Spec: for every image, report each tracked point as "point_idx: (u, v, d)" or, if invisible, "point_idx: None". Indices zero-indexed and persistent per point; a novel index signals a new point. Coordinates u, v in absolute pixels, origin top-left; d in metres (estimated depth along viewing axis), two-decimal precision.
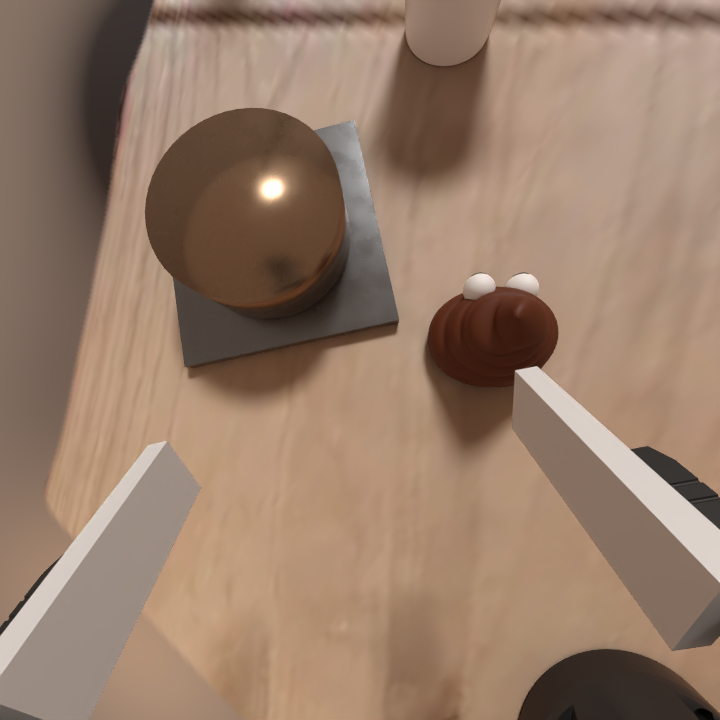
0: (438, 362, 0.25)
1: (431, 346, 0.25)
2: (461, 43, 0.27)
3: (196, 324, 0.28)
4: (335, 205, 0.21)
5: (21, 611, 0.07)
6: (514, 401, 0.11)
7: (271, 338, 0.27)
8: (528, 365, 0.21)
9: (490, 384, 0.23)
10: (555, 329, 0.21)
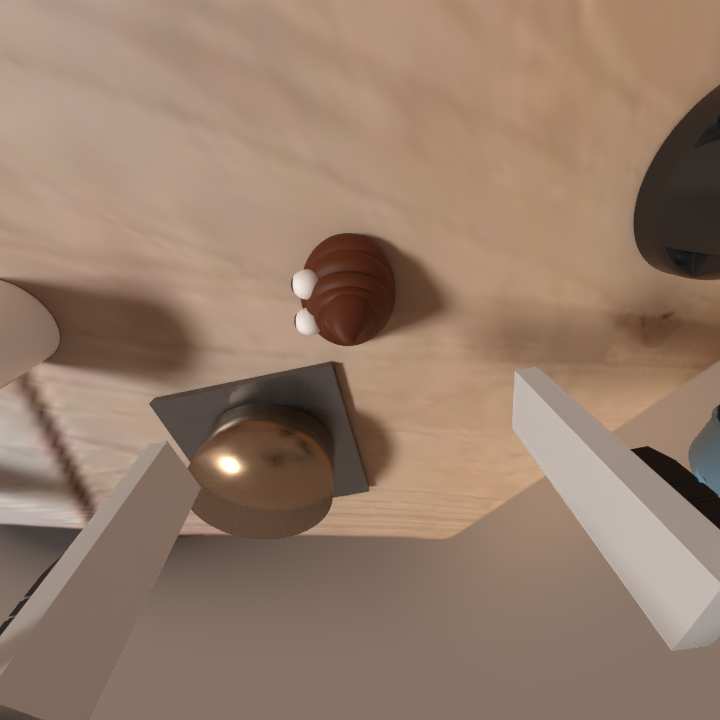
0: (371, 338, 0.28)
1: (357, 344, 0.29)
2: (32, 320, 0.26)
3: (339, 488, 0.40)
4: (255, 445, 0.27)
5: (20, 612, 0.07)
6: (514, 401, 0.11)
7: (349, 448, 0.36)
8: (383, 293, 0.23)
9: (393, 302, 0.26)
10: (348, 262, 0.22)
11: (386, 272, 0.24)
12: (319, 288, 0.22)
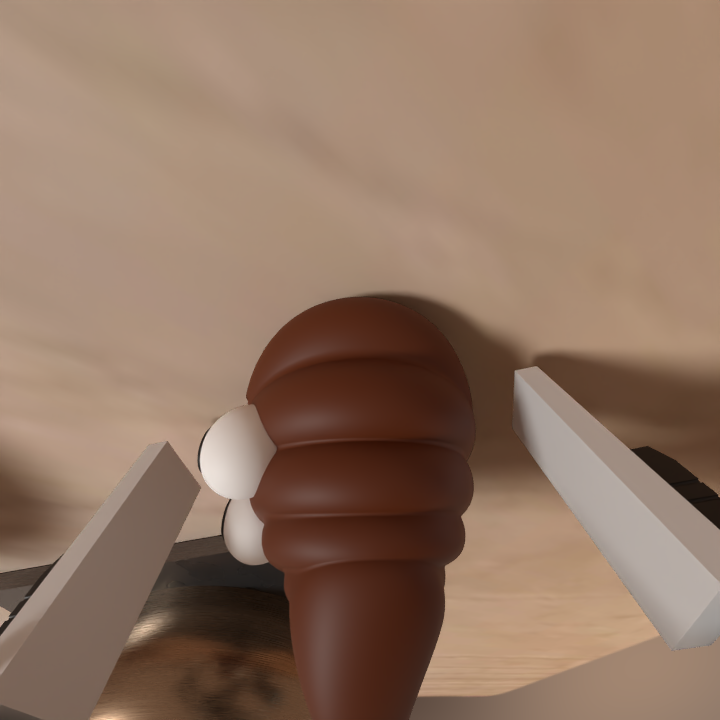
0: None
1: None
2: None
3: None
4: None
5: (21, 611, 0.07)
6: (514, 401, 0.11)
7: None
8: (469, 491, 0.08)
9: None
10: (366, 417, 0.07)
11: (467, 412, 0.09)
12: (273, 498, 0.07)
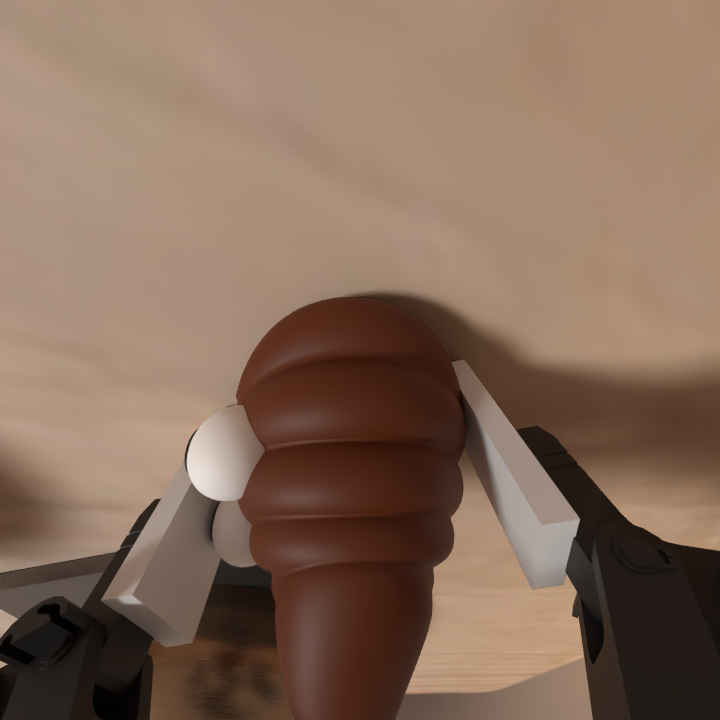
0: None
1: None
2: None
3: None
4: None
5: (140, 537, 0.08)
6: None
7: None
8: (458, 491, 0.08)
9: None
10: (354, 418, 0.07)
11: (457, 413, 0.09)
12: (260, 500, 0.07)
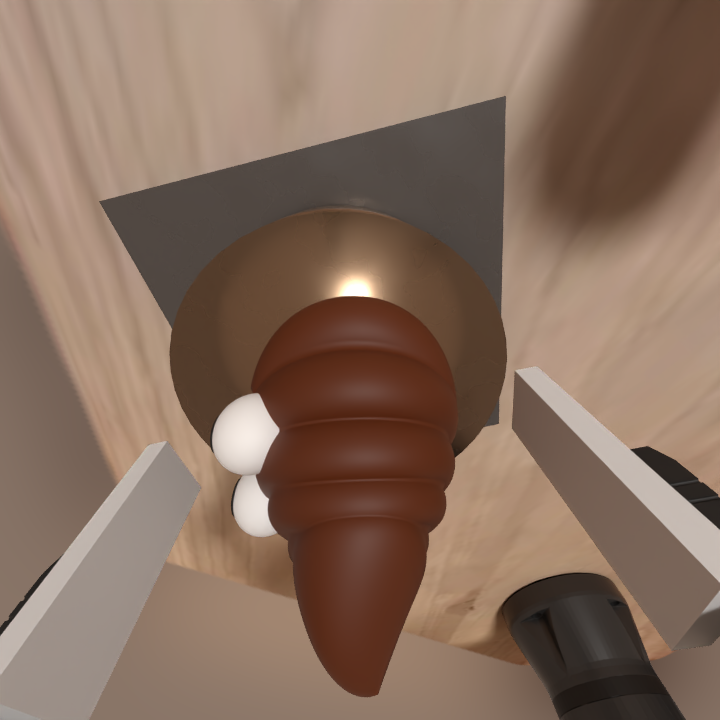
0: None
1: None
2: None
3: None
4: (491, 400, 0.14)
5: (21, 612, 0.07)
6: (514, 401, 0.11)
7: None
8: (448, 463, 0.09)
9: None
10: (356, 399, 0.08)
11: (448, 396, 0.10)
12: (277, 471, 0.08)
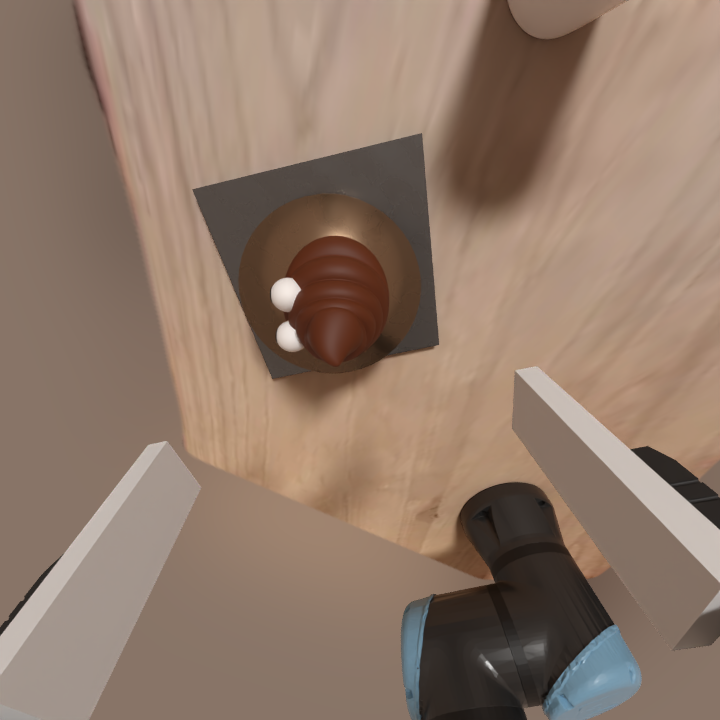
0: None
1: None
2: (571, 29, 0.21)
3: None
4: (415, 304, 0.26)
5: (21, 612, 0.07)
6: (514, 401, 0.11)
7: None
8: (375, 304, 0.20)
9: (387, 312, 0.23)
10: (334, 270, 0.19)
11: (378, 279, 0.21)
12: (301, 300, 0.19)
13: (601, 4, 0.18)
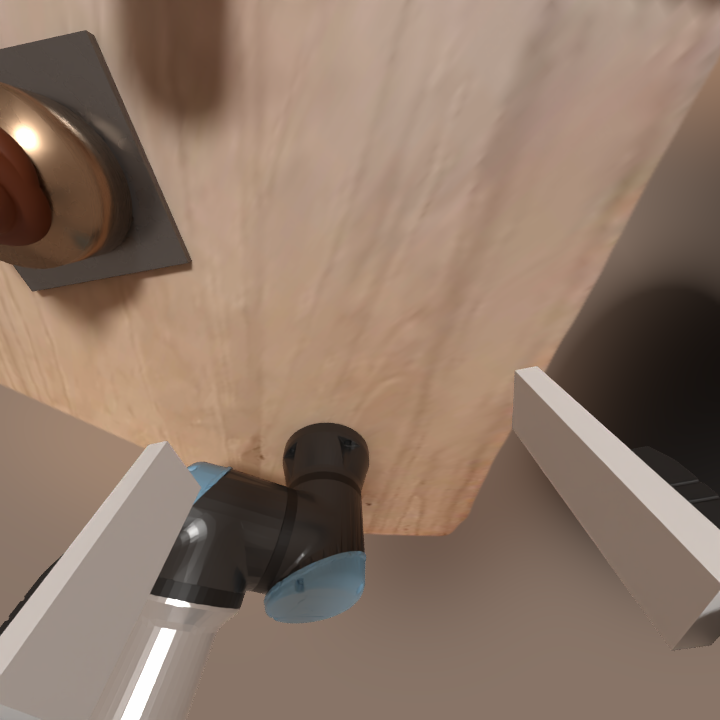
0: (35, 238, 0.27)
1: (22, 244, 0.27)
2: None
3: None
4: (85, 195, 0.27)
5: (21, 611, 0.07)
6: (514, 401, 0.11)
7: (92, 272, 0.36)
8: None
9: (25, 190, 0.24)
10: None
11: None
12: None
13: None
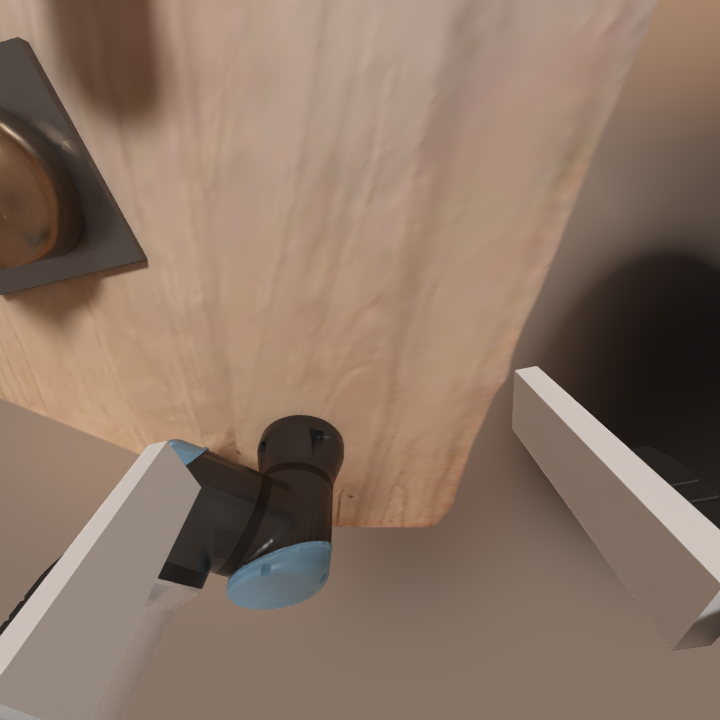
0: None
1: None
2: None
3: None
4: (26, 196, 0.28)
5: (20, 612, 0.07)
6: (514, 401, 0.11)
7: (52, 274, 0.37)
8: None
9: None
10: None
11: None
12: None
13: None
